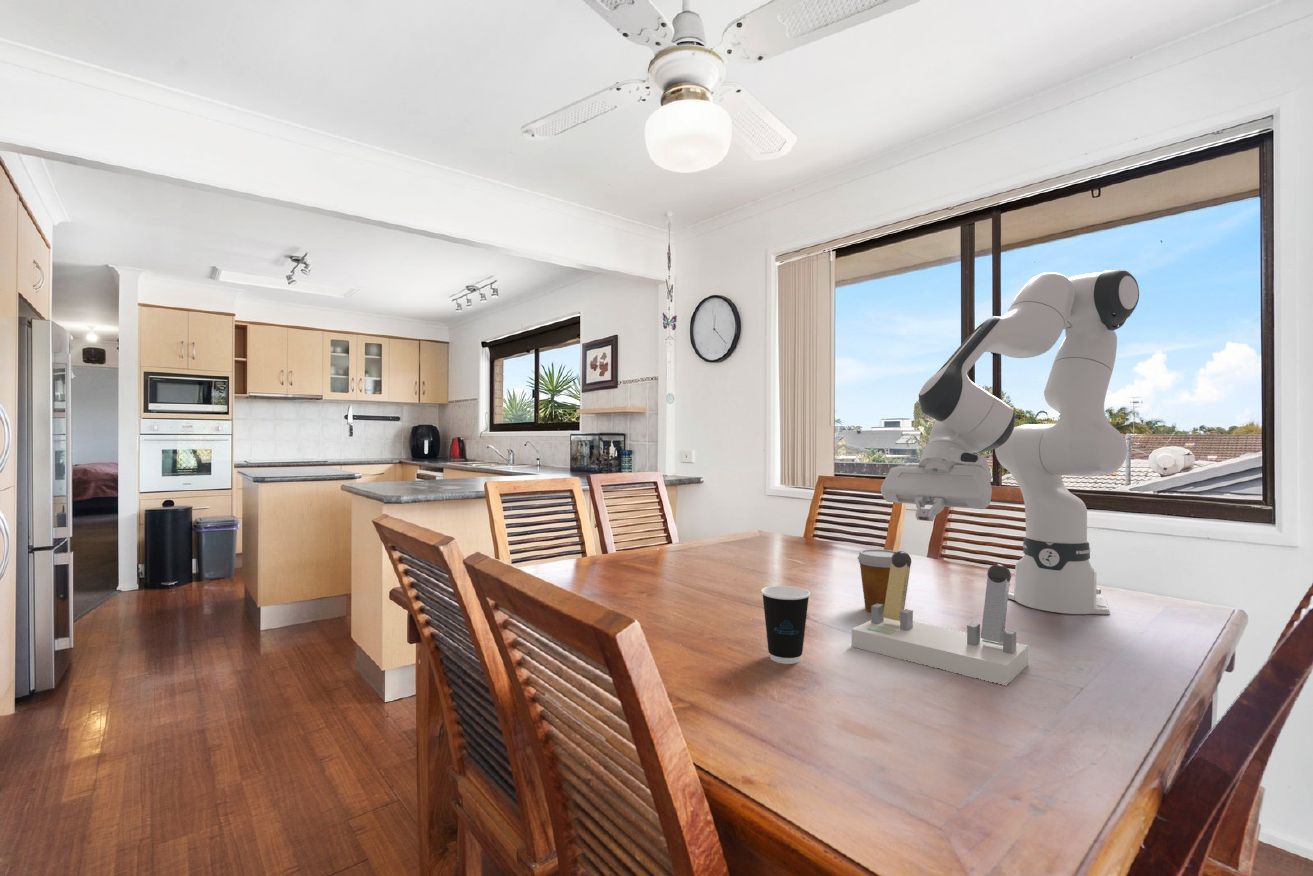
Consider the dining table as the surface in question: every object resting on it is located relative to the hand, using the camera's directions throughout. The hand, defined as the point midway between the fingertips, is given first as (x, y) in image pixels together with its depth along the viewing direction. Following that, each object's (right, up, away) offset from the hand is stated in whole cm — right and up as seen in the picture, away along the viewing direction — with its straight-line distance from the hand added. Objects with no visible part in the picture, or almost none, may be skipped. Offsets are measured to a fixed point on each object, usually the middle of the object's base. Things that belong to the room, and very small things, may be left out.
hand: (923, 518), depth 119 cm
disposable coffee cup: (-5, -21, +10) cm, 23 cm away
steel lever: (+1, -17, -21) cm, 28 cm away
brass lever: (-10, -17, -10) cm, 23 cm away
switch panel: (-5, -20, -16) cm, 27 cm away
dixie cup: (-30, -21, -18) cm, 41 cm away
